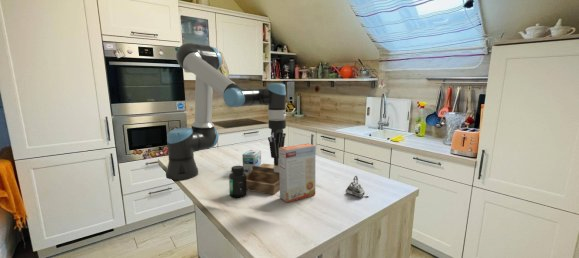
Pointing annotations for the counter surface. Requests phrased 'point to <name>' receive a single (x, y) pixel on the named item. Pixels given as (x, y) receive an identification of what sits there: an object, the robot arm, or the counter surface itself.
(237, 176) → the supplement bottle
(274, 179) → the brown wooden drawer
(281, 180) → the cracker box
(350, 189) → the grey lumpy piece
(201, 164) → the counter surface
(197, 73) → the robot arm
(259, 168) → the lid
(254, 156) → the light bulb box
